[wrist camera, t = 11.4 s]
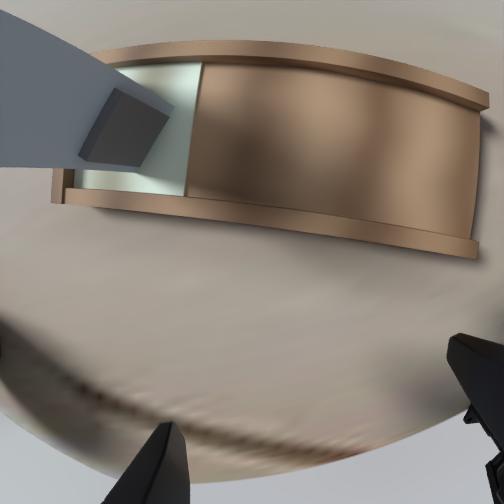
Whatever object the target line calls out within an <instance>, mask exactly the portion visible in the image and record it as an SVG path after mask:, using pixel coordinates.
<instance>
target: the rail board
mask: <svg viewBox="0 0 504 504" xmlns="http://www.w3.org/2000/svg"><path fill="white" fill-rule="evenodd" d="M89 55H91V56H93V57H95V58H96V59H98V60H100V61H102V62H103V63H105V64H107V65H108V66H110V67H112V68H114V69H115V70H117V71H119V72H120V73H122V74H124V75H125V76H127V77H129V78H130V79H132V80H133V81H135V82H137V83H138V84H140V85H142V86H143V87H145V88H146V89H148V90H150V91H151V92H153V93H154V94H156V95H157V96H159V97H161V98H162V99H164V100H165V101H167V102H168V103H170V104H171V105H173V106H174V108H173V110H172V112H171V113H170V115H169V117H170V118H169V119H168V121H167V123H166V124H165V126H164V127H163V129H162V131H161V132H160V134H159V135H158V137H157V139H156V140H155V142H154V144H153V145H152V147H151V149H150V151H149V152H148V154H147V156H146V158H145V159H144V161H143V163H142V165H141V166H140V167H138V168H137V170H136V172H135V173H128V172H115V171H100V170H83V169H61V168H53V176H52V190H51V203H56V204H71V205H82V206H92V207H102V208H112V209H122V210H132V211H141V212H150V213H159V214H168V215H177V216H186V217H194V218H202V219H211V220H219V221H227V222H235V223H242V224H250V225H258V226H265V227H273V228H280V229H287V230H295V231H302V232H309V233H316V234H323V235H330V236H336V237H343V238H350V239H356V240H363V241H369V242H376V243H382V244H388V245H395V246H401V247H407V248H413V249H419V250H425V251H431V252H437V253H443V254H448V255H454V256H460V257H465V258H471V259H476V258H477V253H478V248H479V242H477V241H474V240H471V239H470V234H471V228H472V222H473V215H474V208H475V200H476V191H477V180H478V167H479V149H480V111H483V110H486V109H488V108H490V107H489V93H488V92H485V91H483V90H481V89H478V88H476V87H473V86H471V85H468V84H466V83H463V82H460V81H458V80H455V79H452V78H449V77H447V76H444V75H441V74H438V73H435V72H431V71H428V70H425V69H422V68H418V67H415V66H412V65H408V64H404V63H401V62H397V61H393V60H389V59H385V58H380V57H376V56H371V55H367V54H362V53H357V52H351V51H346V50H340V49H334V48H327V47H320V46H313V45H304V44H295V43H284V42H271V41H251V40H200V41H180V42H167V43H156V44H147V45H139V46H132V47H125V48H118V49H112V50H106V51H101V52H96V53H91V54H89Z"/></svg>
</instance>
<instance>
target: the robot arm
mask: <svg viewBox="0 0 504 504" xmlns="http://www.w3.org/2000/svg"><path fill="white" fill-rule="evenodd" d="M447 361H448V364H449V365H450V367H451V369H452V370H453V372H454V374H455V376H456V377H457V379H458V381H459V383H460V385H461V386H462V388H463V390H464V392H465V393H466V395H467V396H468V398H469V399H470V401H471V402H472V403H471V405H470V407H469V409H468V411H467V413H466V415H465V416H464V419H463V420H464V422H465V423H466V424H471V423H480V424H481V426H482V427H483V429H484V431H485V432H486V434H487V435H488V436H491V438H492V439H493V441H494V443H495V444H496V446H497V447H498V449H499V451H500V452H499V454H498V455H496V456H495V458H493V459H492V460H491V461H489V462H488V463H487V464H486V465H485V467H486V471H487V476H488V480H489V484H490V488H491V493H492V497H493V501H494V504H504V345H502V344H498V343H495V342H491V341H488V340H484V339H481V338H477V337H474V336H470V335H467V334H463V333H458V334H456V335H454V336H452V337H450V339H449V343H448V349H447ZM101 504H190V479H189V471H188V462H187V453H186V444H185V439H184V436H183V435H182V433H181V431H180V430H179V428H178V426H177V425H176V423H175V422H174V421H165V422H161V423H159V425H158V426H157V428H156V429H155V430H154V432H153V433H152V435H151V436H150V437H149V439H148V440H147V442H146V443H145V444H144V446H143V447H142V448H141V450H140V451H139V453H138V454H137V455H136V457H135V458H134V460H133V461H132V462H131V464H130V465H129V466H128V468H127V469H126V471H125V472H124V473H123V475H122V476H121V477H120V479H119V480H118V482H117V483H116V484H115V486H114V487H113V488H112V490H111V491H110V492H109V494H108V495H107V496H106V498H105V499H104V501H103V502H102V503H101Z"/></svg>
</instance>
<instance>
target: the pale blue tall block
mask: <svg viewBox="0 0 504 504" xmlns="http://www.w3.org/2000/svg"><path fill="white" fill-rule="evenodd" d="M173 108H174V106H173V105H171V104H170V103H168V102H167V101H165V100H164V99H162V98H161V97H159V96H157V95H156V94H154V93H153V92H151V91H150V90H148V89H146V88H145V87H143V86H142V85H140V84H138V83H137V82H135V81H133V80H132V79H130V78H129V77H127V76H125V75H124V74H122V73H120V72H119V71H117V70H115V69H114V68H112V67H110V66H108V65H107V64H105V63H103V62H102V61H100V60H98V59H96V58H95V57H93V56H91V55H89V54H87V53H86V52H84V51H82V50H80V49H78V48H77V47H75V46H73V45H71V44H69V43H67V42H66V41H64V40H62V39H60V38H58V37H56V36H54V35H52V34H50V33H48V32H46V31H44V30H42V29H40V28H38V27H36V26H34V25H32V24H30V23H28V22H26V21H24V20H22V19H20V18H18V17H16V16H14V15H11V14H9V13H7V12H5V11H3V10H0V167H27V168H61V169H83V170H100V171H115V172H128V173H135V172H136V170H137V168H138V167H140V166H141V165H142V163H143V161H144V159H145V158H146V156H147V154H148V152H149V151H150V149H151V147H152V145H153V144H154V142H155V140H156V139H157V137H158V135H159V134H160V132H161V131H162V129H163V127H164V126H165V124H166V123H167V121H168V119H169V118H170V117H169V115H170V113H171V112H172V110H173Z"/></svg>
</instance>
